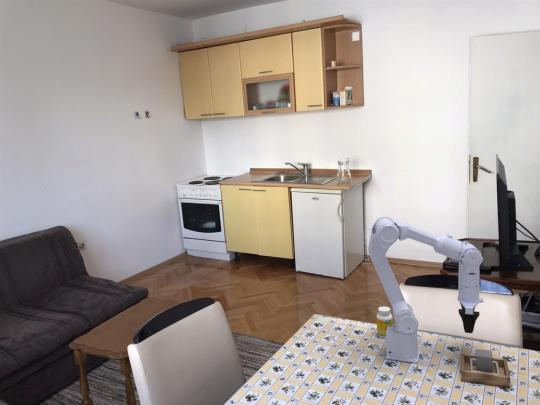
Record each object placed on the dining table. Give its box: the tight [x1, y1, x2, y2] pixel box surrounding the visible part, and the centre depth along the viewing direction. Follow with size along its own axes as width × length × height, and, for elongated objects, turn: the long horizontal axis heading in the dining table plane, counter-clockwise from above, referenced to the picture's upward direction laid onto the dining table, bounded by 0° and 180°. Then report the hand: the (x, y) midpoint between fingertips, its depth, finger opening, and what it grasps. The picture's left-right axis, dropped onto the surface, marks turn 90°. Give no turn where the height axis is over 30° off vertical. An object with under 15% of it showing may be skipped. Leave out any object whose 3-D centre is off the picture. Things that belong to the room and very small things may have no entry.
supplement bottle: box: [376, 306, 394, 339], centre depth 153 cm, size 5×5×10 cm
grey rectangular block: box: [475, 348, 494, 373], centre depth 126 cm, size 4×4×6 cm
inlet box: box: [460, 353, 511, 389], centre depth 126 cm, size 12×10×3 cm
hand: (468, 326), depth 136 cm, fingers open, 7 cm apart
